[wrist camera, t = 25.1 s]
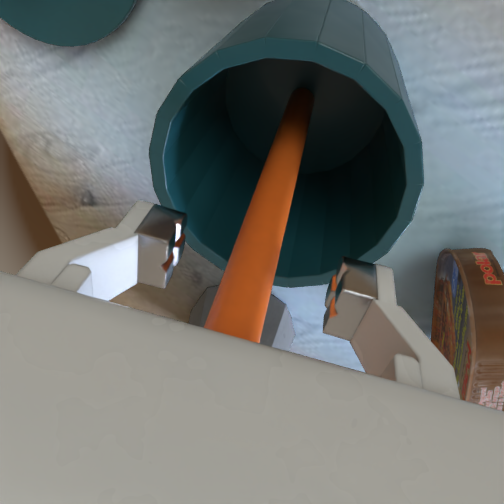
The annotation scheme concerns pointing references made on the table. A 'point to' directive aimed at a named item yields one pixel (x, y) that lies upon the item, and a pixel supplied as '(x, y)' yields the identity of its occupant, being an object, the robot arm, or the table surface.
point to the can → (316, 145)
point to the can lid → (66, 19)
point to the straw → (262, 230)
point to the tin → (471, 322)
